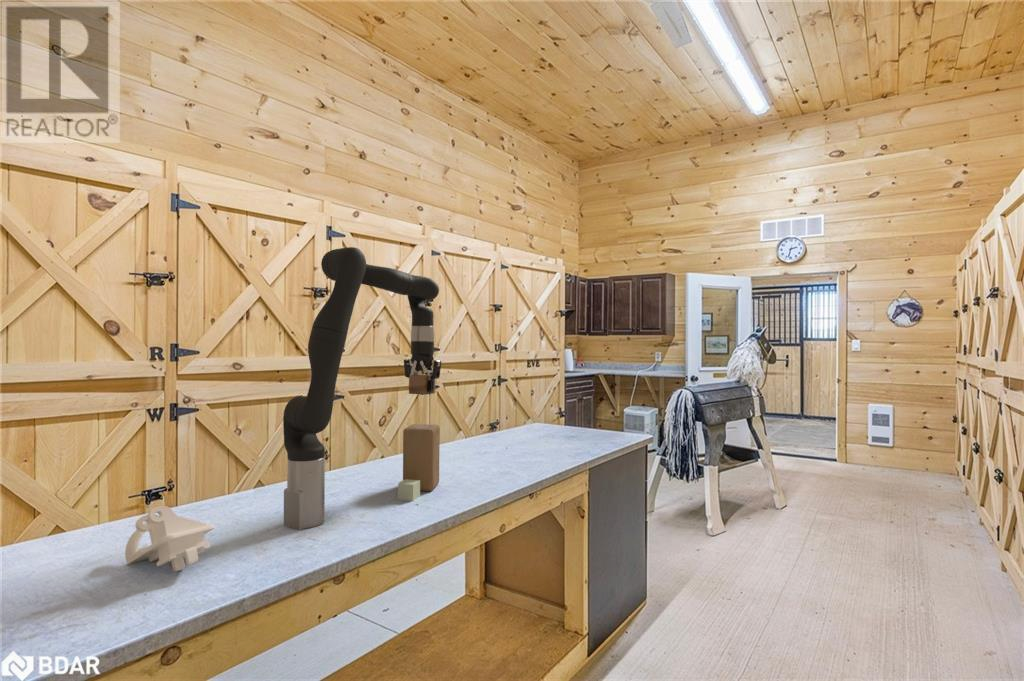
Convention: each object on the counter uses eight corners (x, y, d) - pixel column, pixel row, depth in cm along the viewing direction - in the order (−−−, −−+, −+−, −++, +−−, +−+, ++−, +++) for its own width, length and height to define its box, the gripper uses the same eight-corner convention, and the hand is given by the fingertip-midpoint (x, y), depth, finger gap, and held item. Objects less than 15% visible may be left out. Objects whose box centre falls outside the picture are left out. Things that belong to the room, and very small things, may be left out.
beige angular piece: (126, 592, 112) (115, 531, 116) (184, 573, 122) (172, 517, 125) (165, 570, 102) (152, 504, 106) (225, 551, 112) (211, 490, 115)
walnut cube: (423, 394, 171) (423, 376, 171) (408, 393, 174) (409, 375, 174) (434, 393, 176) (435, 375, 176) (420, 392, 179) (420, 374, 179)
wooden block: (439, 483, 180) (440, 424, 180) (432, 492, 170) (433, 429, 170) (410, 482, 181) (411, 423, 181) (401, 491, 171) (402, 428, 171)
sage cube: (413, 501, 161) (413, 484, 161) (397, 499, 162) (398, 483, 162) (420, 496, 166) (420, 480, 166) (405, 495, 167) (405, 479, 167)
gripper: (397, 339, 175) (397, 391, 175) (433, 340, 168) (432, 393, 168) (412, 339, 182) (412, 389, 182) (447, 340, 175) (446, 391, 175)
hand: (421, 391), depth 175 cm, fingers closed on walnut cube, 6 cm apart
